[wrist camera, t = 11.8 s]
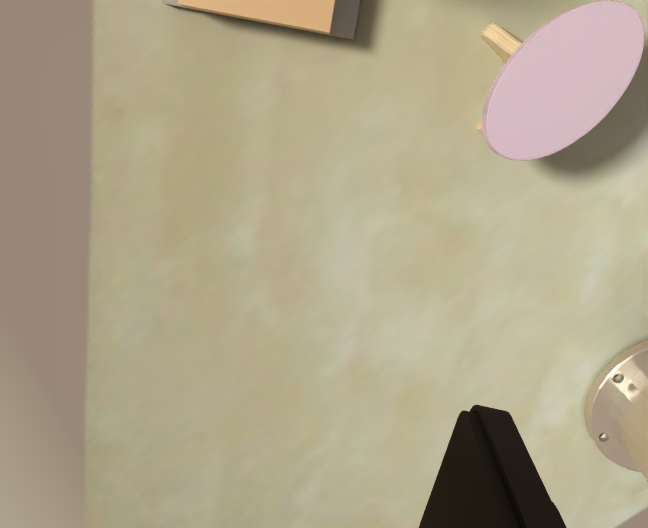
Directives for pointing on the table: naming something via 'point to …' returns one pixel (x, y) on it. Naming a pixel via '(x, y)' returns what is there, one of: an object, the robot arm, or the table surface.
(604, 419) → the robot arm
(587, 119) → the toy table
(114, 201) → the table surface
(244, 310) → the table surface
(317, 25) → the stand
